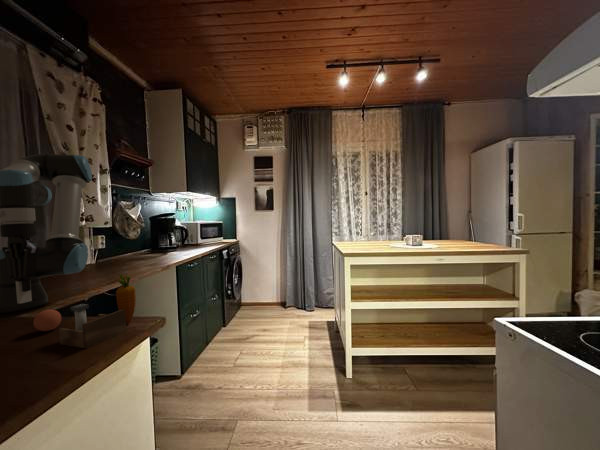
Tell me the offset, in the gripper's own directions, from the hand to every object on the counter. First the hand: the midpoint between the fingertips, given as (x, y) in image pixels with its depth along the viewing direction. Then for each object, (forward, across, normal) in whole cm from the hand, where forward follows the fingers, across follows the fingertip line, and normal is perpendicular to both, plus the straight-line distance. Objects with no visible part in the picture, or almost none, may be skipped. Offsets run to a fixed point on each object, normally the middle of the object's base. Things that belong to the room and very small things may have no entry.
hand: (24, 302), depth 83 cm
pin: (+8, +23, 0) cm, 25 cm away
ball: (+5, +9, 0) cm, 10 cm away
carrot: (+8, +29, +9) cm, 32 cm away
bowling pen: (+8, +28, 0) cm, 29 cm away
